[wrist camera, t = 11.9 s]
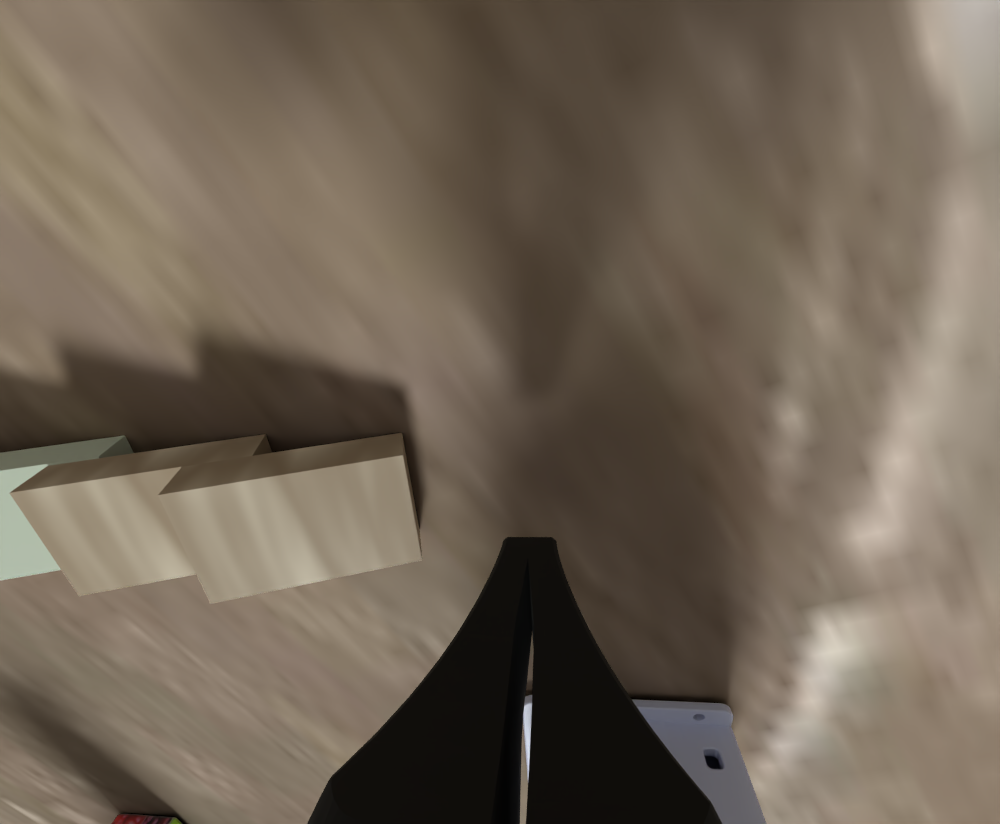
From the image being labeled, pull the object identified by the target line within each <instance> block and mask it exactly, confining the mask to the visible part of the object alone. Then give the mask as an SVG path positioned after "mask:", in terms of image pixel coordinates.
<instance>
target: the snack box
mask: <svg viewBox="0 0 1000 824" xmlns="http://www.w3.org/2000/svg"><path fill="white" fill-rule="evenodd" d="M112 824H182V823H181V822H180V821H179V820H178V819H177V818H175V817H163V816H149V815H137V814H119V815H118V816H117V817H116V818H115V820H114V821H113V822H112Z"/></svg>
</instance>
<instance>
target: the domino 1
mask: <svg viewBox="0 0 1000 824" xmlns="http://www.w3.org/2000/svg"><path fill="white" fill-rule="evenodd" d="M132 453H134V452H133V450H132V448H131V446H130V444H129V442H128V440H127V438H126V437H125V436H117V437H110V438H103V439H95V440H88V441H81V442H74V443H67V444H60V445H52V446H45V447H38V448H31V449H24V450H16V451H9V452H2V453H0V580H6V579H12V578H17V577H23V576H29V575H34V574H40V573H46V572H51V571H57V570H61V569H60V567H59V566H58V564H57V563H56V561H55V560H54V559H53V557H52V556H51V554H50V553H49V551H48V550H47V548H46V547H45V545H44V544H43V542H42V541H41V539H40V538H39V536H38V535H37V533H36V532H35V530H34V529H33V527H32V526H31V524H30V523H29V521H28V520H27V519H26V517H25V516H24V514H23V513H22V511H21V510H20V508H19V507H18V505H17V504H16V502H15V501H14V499H13V498H12V496H11V495H10V492H11V491H13V490H14V489H15V488H17V487H18V486H20V485H21V484H22V483H24V482H25V481H27V480H28V479H30V478H31V477H32V476H34V475H35V474H37V473H38V472H40V471H41V470H42V469H44V468H45V467H47V466H50V465H57V464H63V463H70V462H77V461H84V460H91V459H98V458H105V457H112V456H118V455H125V454H132Z"/></svg>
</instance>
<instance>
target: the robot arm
mask: <svg viewBox="0 0 1000 824" xmlns="http://www.w3.org/2000/svg"><path fill="white" fill-rule="evenodd" d="M532 633H533V646H534V659H533V688H532V695H528V696H526V697H525V694H526V684H527V675H528V665H529V656H530V646H531V636H532ZM732 721H733V714H732V711H731V709H730V707H729V706H728V705H725V704H722V703H705V702H683V701H660V700H638V699H631V698H630V697H629V695H628V694H627V692H626V691H625V689H624V688H623V686H622V685H621V683H620V681H619V680H618V678H617V677H616V675H615V674H614V672H613V670H612V669H611V667H610V666H609V664H608V662H607V660H606V659H605V657H604V655H603V654H602V652H601V650H600V648H599V647H598V645H597V643H596V641H595V639H594V638H593V636H592V634H591V632H590V630H589V628H588V626H587V624H586V622H585V620H584V618H583V616H582V614H581V612H580V610H579V608H578V605H577V603H576V601H575V599H574V596H573V594H572V592H571V589H570V587H569V584H568V582H567V579H566V577H565V574H564V571H563V568H562V565H561V562H560V558H559V554H558V550H557V544H556V540H554V539H553V538H552V537H507V538H506V539H505V540H504V541H503V545H502V548H501V551H500V553H499V556H498V558H497V561H496V563H495V565H494V568H493V570H492V572H491V574H490V576H489V578H488V580H487V582H486V584H485V586H484V588H483V590H482V592H481V594H480V596H479V598H478V599H477V601H476V603H475V605H474V606H473V608H472V610H471V611H470V613H469V615H468V616H467V618H466V620H465V622H464V623H463V625H462V626H461V628H460V630H459V631H458V633H457V634H456V636H455V637H454V639H453V640H452V642H451V643H450V645H449V646H448V647H447V649H446V650H445V652H444V653H443V654H442V656H441V657H440V659H439V660H438V661H437V663H436V664H435V665H434V667H433V668H432V669H431V670H430V672H429V673H428V674H427V676H426V677H425V678H424V679H423V681H422V682H421V683H420V684H419V686H418V687H417V688H416V689H415V690H414V692H413V693H412V694H411V695H410V696H409V698H408V699H407V700H406V701H405V702H404V703H403V704H402V705H401V706H400V708H399V709H398V710H397V711H396V712H395V713H394V714H393V715H392V716H391V717H390V719H389V720H388V721H387V722H386V723H385V724H384V725H383V726H382V727H381V728H380V730H379V731H378V732H377V733H376V734H375V735H374V736H373V737H372V738H371V739H370V740H369V741H368V742H367V743H366V744H365V745H364V746H363V747H361V748H360V749H359V750H358V751H357V752H356V753H355V754H354V755H353V756H352V757H351V758H350V759H349V760H348V761H347V762H346V763H345V764H344V765H343V766H342V767H341V768H340V769H339V770H338V771H337V772H336V773H335V774H334V775H332V777H331V778H330V780H329V781H328V783H327V785H326V787H325V789H324V791H323V793H322V795H321V796H320V798H319V800H318V803H317V805H316V807H315V809H314V811H313V813H312V815H311V817H310V819H309V821H308V824H520V784H521V744H522V725H523V724H524V737H525V750H526V762H527V775H528V799H527V817H526V824H766V821H765V819H764V816H763V813H762V810H761V808H760V805H759V802H758V799H757V797H756V794H755V791H754V788H753V785H752V783H751V780H750V777H749V774H748V772H747V769H746V766H745V763H744V761H743V758H742V755H741V752H740V750H739V747H738V744H737V741H736V739H735V736H734V733H733V730H732V727H731V724H732Z"/></svg>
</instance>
